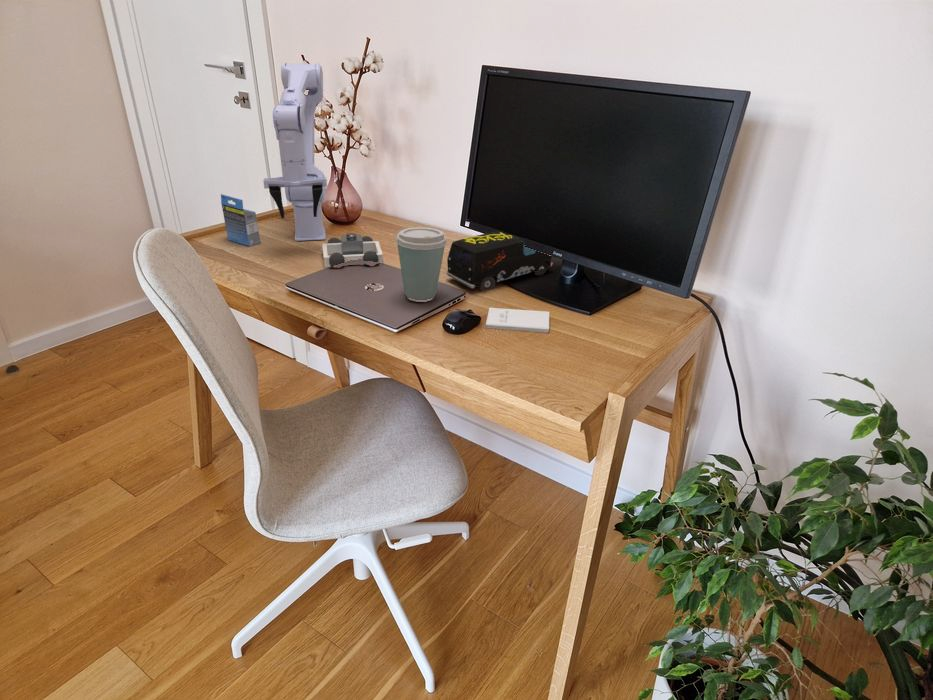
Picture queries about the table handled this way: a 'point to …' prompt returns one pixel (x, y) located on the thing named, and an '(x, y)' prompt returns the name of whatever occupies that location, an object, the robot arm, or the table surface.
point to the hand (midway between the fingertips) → (299, 216)
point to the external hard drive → (518, 320)
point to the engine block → (351, 244)
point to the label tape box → (240, 222)
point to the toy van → (492, 259)
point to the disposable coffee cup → (420, 260)
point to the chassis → (337, 257)
